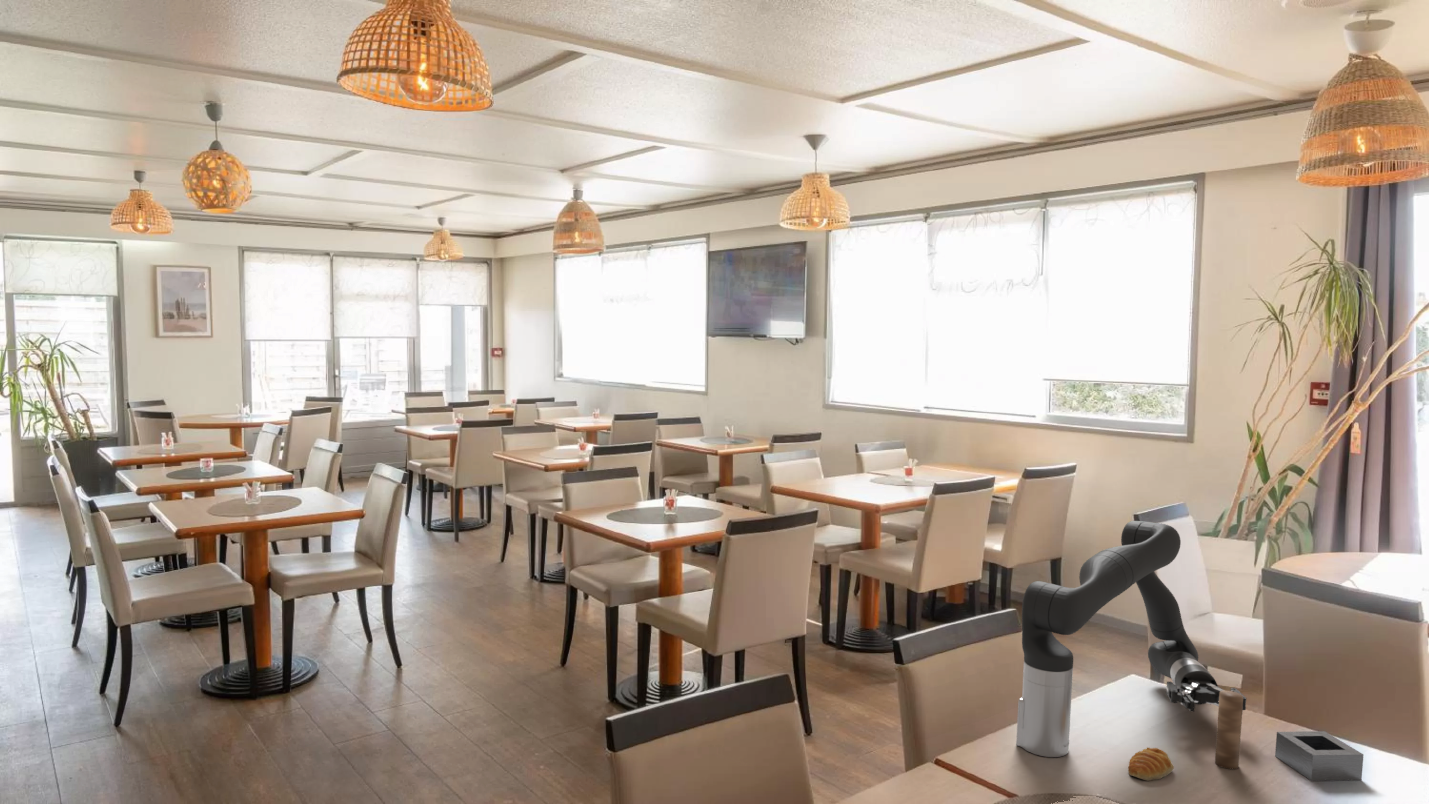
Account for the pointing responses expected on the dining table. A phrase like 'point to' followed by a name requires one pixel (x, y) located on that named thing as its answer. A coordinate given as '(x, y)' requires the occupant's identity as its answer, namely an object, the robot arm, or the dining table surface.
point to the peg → (1229, 729)
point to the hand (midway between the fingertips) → (1215, 709)
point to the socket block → (1319, 756)
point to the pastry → (1150, 764)
